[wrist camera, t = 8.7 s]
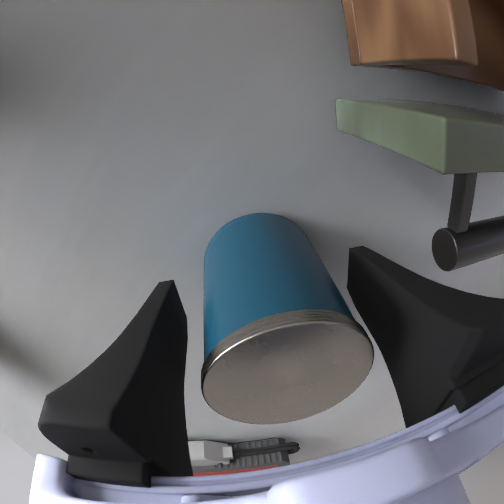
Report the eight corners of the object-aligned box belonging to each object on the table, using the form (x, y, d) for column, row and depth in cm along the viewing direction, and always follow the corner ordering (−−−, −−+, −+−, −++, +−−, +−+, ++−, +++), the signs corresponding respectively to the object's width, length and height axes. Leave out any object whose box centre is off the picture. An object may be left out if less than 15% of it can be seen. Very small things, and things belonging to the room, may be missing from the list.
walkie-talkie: (298, 423, 22) (85, 432, 20) (309, 466, 18) (78, 470, 17) (293, 454, 26) (121, 462, 25) (301, 487, 23) (119, 494, 21)
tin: (333, 254, 13) (399, 360, 8) (260, 320, 15) (285, 433, 9) (255, 185, 11) (301, 286, 6) (179, 270, 13) (166, 397, 7)
